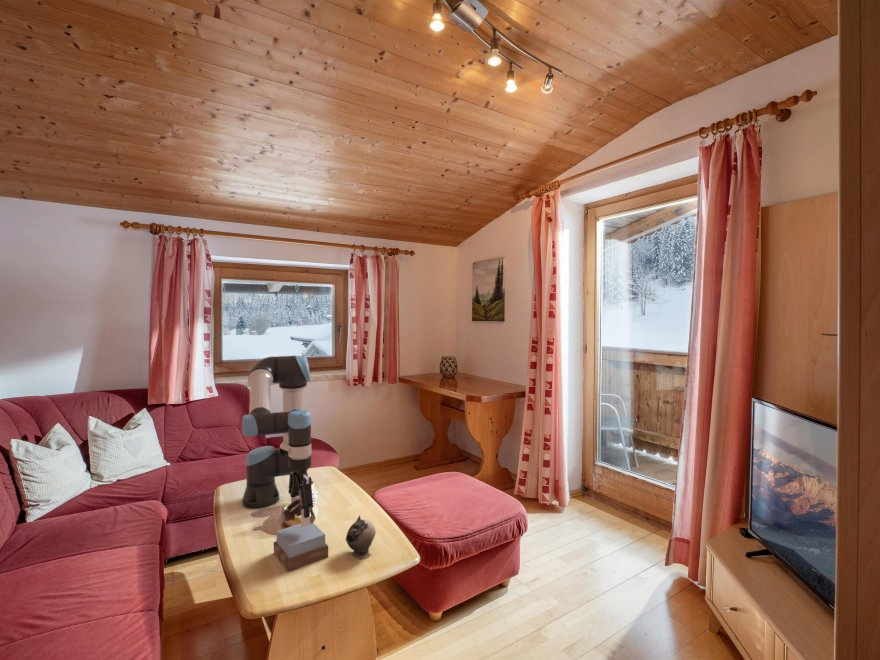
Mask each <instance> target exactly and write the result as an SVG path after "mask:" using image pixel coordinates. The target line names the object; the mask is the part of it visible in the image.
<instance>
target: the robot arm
mask: <svg viewBox="0 0 880 660" xmlns="http://www.w3.org/2000/svg"><path fill="white" fill-rule="evenodd" d="M310 373H311V372H310V367H309V362H308V358H307V356H305V355H283V356H282V355H280V356H268V357H264V358H262V359H260V360H259V361H258V362H256V363H255V364H254V365H253V366H252V367H251V369H250V370H249V372H248V376H247V381H248V385H249V387H250V389H249V409H248V411H249V412H248V414H245V415H243V416H242V427H241V429H242V431H241V432H242V435H243V436H245V437H259V436H267V435H278V434H282V436H283V437H282V442H281V443H280V445H279V448H278V449H276V448H275V446H272V445H266V446H260V447H256V448H253V449H252V450H250V451H249V452H248V453H247V454H246V459H245V460H246V461H245V468H246V485H245V486H246V487H245V490H244V493H243V496H242V506H243V507H244V508H247V509H255V510H257V509H264V508H267V507H270V506H273V505H275V504H276V503H278V502H279V501H280V492H279V490H278V487H277V484H276V477H285V476H289V481H288V495H289V496H290V499H291V501H290V504H291V503H293V502H294V501H296V500H298V499H301V501H302V507H301V515H300V516H301V523H300V524H301V527H305V526H309V525H310V517H311V513H310V507H312V508H313V507H314V503H313V502H314V501H313V492H312V491H313V490H312V477H311V476H309V475H308V470H309V469H310V468H311V466H312V417H311V416H312V415H311V412H310V411H309V410H307V409H304V390H305V388H306V387H307V386H308V383H309V382H311V374H310ZM273 384H278V387H279V389H280V390H281V391H282V411H279V412H272V393H271V391H272V390H271V389H272V388H271V387H272V385H273ZM299 504H300V503H299ZM299 504H298V505H299ZM298 505H296V506H295V507H293V508H292V509H291V510H290V512H291V511H293V510H294V509H295V508H296V507H297V506H298ZM296 516H298V515H296V514H295V517H296Z"/></svg>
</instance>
